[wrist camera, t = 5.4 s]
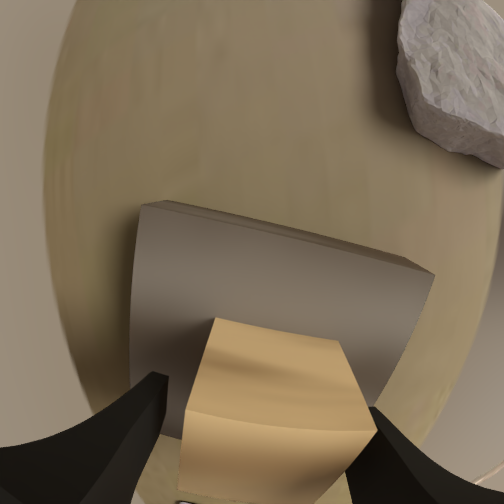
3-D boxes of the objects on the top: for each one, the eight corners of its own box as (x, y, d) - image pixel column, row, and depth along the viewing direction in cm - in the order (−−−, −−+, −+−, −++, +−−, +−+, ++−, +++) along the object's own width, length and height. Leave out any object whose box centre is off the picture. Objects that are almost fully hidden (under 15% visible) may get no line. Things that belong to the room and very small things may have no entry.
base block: (328, 426, 16) (335, 458, 13) (148, 393, 15) (132, 424, 12) (404, 257, 13) (435, 274, 10) (167, 199, 12) (141, 204, 10)
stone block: (383, 142, 13) (513, 180, 11) (409, 118, 9) (557, 178, 7) (375, -5, 11) (492, 36, 9) (383, -48, 6) (519, 10, 4)
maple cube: (300, 421, 12) (311, 505, 7) (199, 405, 12) (176, 489, 7) (338, 340, 11) (377, 430, 6) (215, 317, 10) (185, 408, 6)
